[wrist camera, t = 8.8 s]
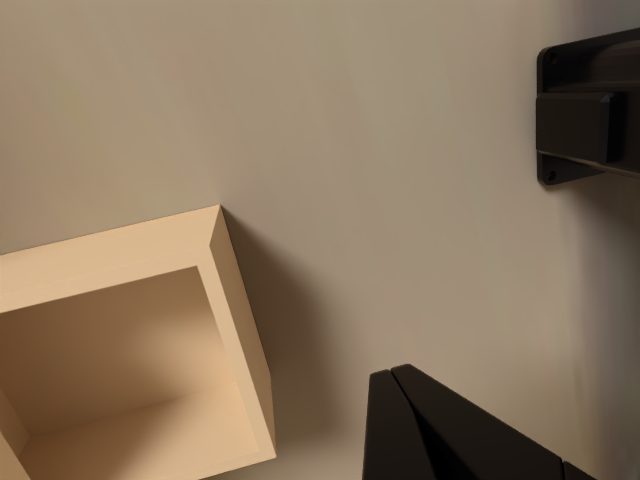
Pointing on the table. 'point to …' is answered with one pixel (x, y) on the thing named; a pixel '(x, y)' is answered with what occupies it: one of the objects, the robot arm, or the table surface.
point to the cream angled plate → (10, 463)
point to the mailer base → (133, 355)
